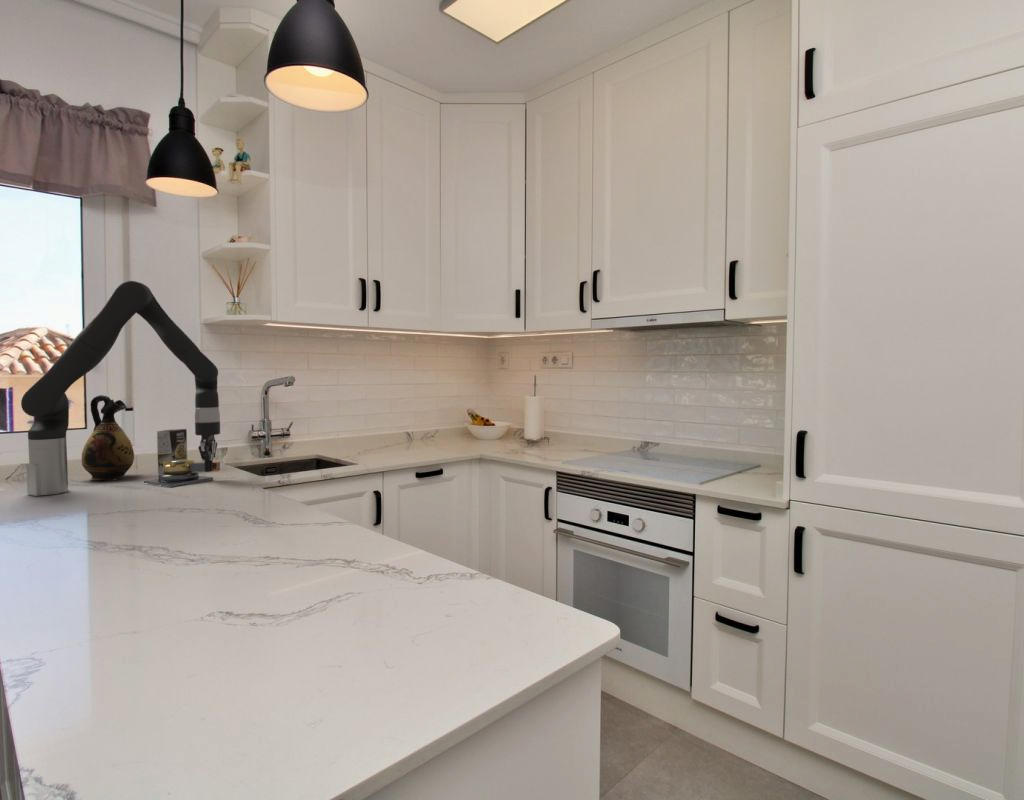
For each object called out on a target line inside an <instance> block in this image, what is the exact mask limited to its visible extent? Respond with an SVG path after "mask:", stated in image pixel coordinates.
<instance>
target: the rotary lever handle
mask: <svg viewBox="0 0 1024 800" xmlns="http://www.w3.org/2000/svg"><path fill="white" fill-rule="evenodd" d="M180 460H186V463H181V464H177V462H171V461H163V464H164V465H163V474H167V475H175V474H186V473H191V472H199V473H200V472H205V463H204V461H202V462H197V461H196V462H195V460H194V459H190V460H189V459H188V458H187V459H180ZM219 471H221V461H213V471H211V472H219ZM211 472H210V473H211Z"/></svg>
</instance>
